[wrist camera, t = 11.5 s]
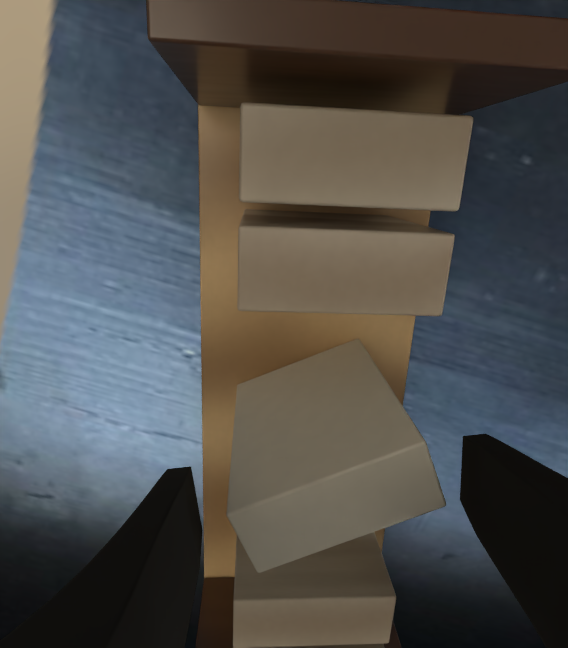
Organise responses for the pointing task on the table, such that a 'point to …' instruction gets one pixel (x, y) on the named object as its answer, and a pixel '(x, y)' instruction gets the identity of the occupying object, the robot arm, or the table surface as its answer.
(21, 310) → the table surface
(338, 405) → the white book
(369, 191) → the wooden book rack
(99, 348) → the table surface
